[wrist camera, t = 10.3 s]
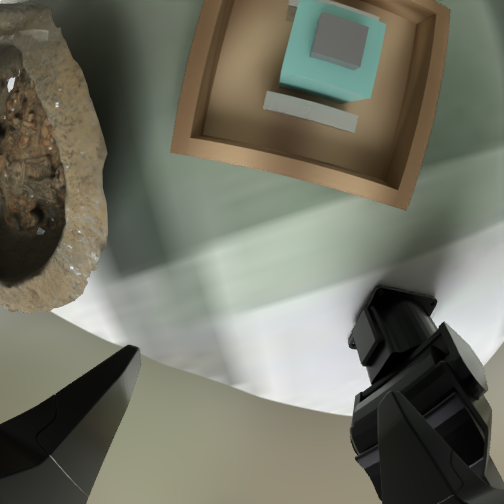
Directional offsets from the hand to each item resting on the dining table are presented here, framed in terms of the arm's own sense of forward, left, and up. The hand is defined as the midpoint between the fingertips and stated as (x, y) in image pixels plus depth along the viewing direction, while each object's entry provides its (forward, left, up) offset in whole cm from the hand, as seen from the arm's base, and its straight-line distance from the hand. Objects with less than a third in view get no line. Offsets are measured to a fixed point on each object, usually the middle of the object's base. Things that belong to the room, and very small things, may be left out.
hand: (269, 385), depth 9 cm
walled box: (0, -12, -13) cm, 18 cm away
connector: (0, -12, -12) cm, 17 cm away
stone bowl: (+22, -3, -13) cm, 26 cm away
